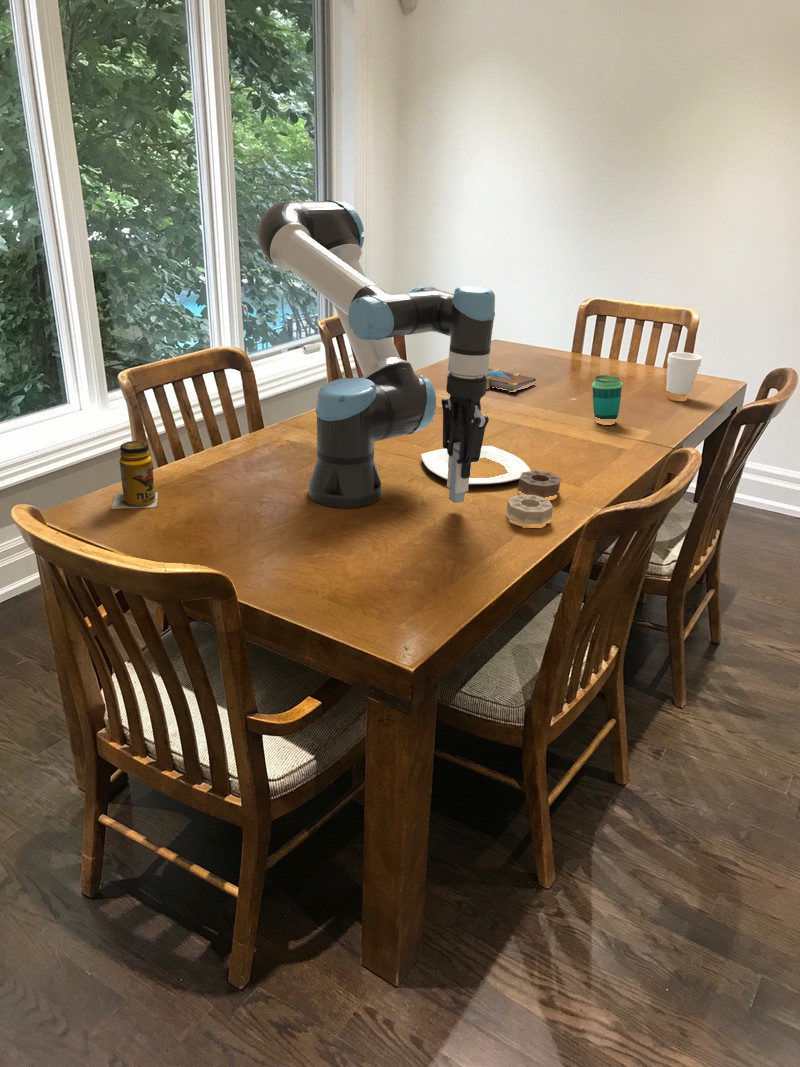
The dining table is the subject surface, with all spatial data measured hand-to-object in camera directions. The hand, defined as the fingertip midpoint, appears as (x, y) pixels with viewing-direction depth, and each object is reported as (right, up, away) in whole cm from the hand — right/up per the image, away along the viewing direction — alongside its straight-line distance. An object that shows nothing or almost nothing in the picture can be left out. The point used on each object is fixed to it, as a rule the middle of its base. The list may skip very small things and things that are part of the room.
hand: (457, 488), depth 164 cm
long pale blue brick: (0, -2, +1) cm, 3 cm away
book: (+16, +37, +91) cm, 99 cm away
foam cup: (+72, +31, +83) cm, 114 cm away
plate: (+6, +5, +23) cm, 24 cm away
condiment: (-64, -3, 0) cm, 64 cm away
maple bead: (+14, -6, 0) cm, 15 cm away
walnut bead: (+18, 0, +12) cm, 22 cm away
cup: (+43, +21, +59) cm, 76 cm away
